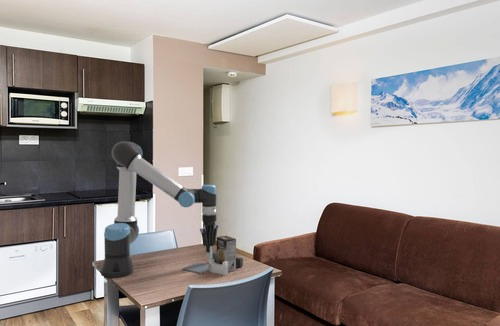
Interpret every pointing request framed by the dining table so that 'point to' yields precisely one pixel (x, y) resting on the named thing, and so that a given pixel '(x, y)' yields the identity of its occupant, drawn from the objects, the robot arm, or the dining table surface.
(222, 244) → the coffee box
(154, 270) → the dining table surface
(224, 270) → the clip jaw
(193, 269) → the mat
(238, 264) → the tie bar
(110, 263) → the robot arm
